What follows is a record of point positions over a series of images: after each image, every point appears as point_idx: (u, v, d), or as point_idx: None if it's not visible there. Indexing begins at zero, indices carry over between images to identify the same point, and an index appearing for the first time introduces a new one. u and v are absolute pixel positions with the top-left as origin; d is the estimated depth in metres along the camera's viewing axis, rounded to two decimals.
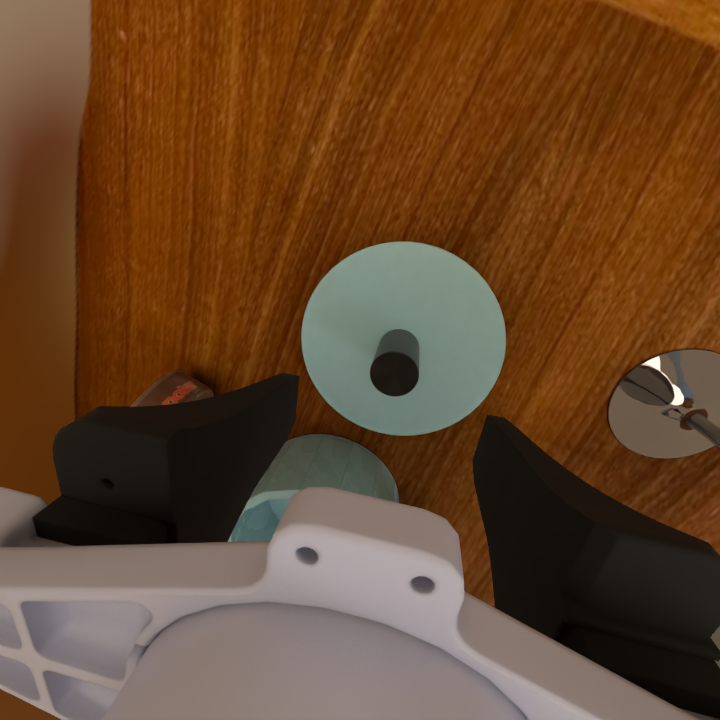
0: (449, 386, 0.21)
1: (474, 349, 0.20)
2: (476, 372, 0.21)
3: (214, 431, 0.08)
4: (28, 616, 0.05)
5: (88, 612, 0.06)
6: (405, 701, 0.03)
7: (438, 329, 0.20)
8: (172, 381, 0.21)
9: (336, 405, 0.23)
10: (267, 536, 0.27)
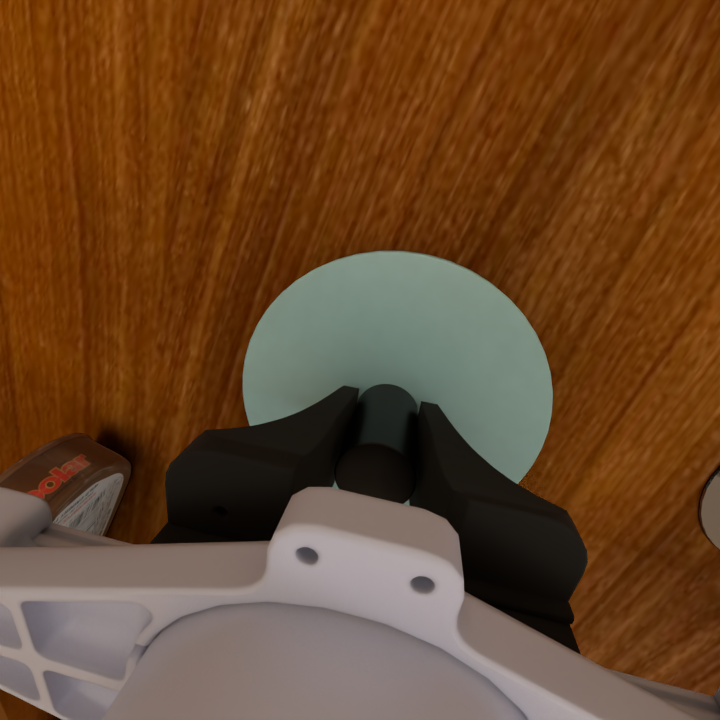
0: None
1: (502, 416, 0.13)
2: (505, 449, 0.14)
3: (315, 454, 0.08)
4: (28, 616, 0.05)
5: (88, 612, 0.06)
6: (405, 701, 0.03)
7: (446, 385, 0.13)
8: (45, 461, 0.14)
9: None
10: None
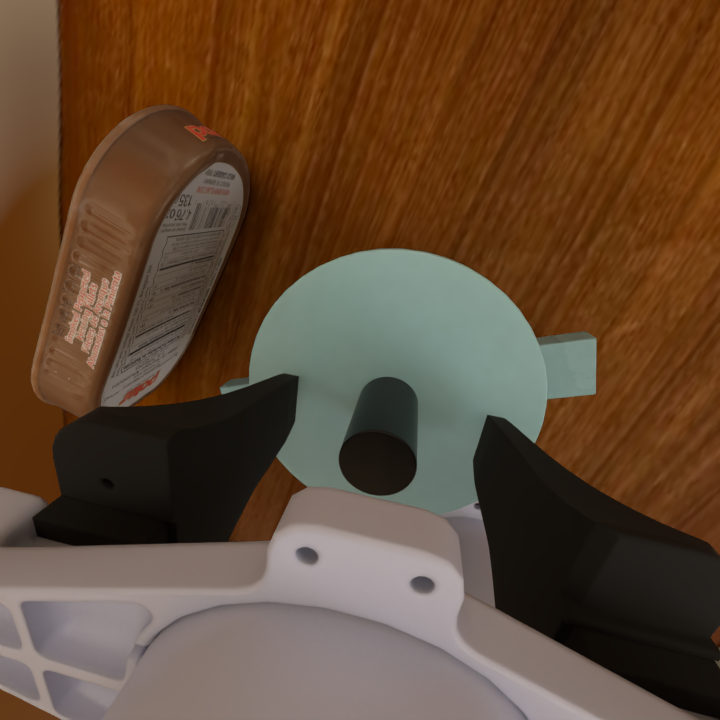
0: (461, 456, 0.15)
1: (499, 407, 0.14)
2: None
3: (214, 431, 0.08)
4: (28, 616, 0.05)
5: (88, 612, 0.06)
6: (405, 701, 0.03)
7: (445, 378, 0.14)
8: (197, 121, 0.14)
9: (302, 476, 0.17)
10: None
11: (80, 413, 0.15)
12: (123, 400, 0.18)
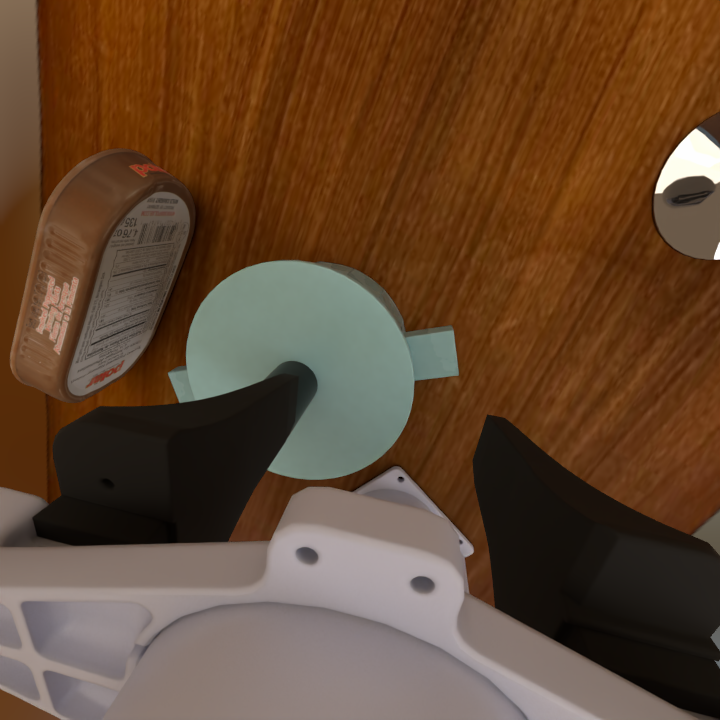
0: (355, 426, 0.18)
1: (379, 385, 0.17)
2: (384, 411, 0.18)
3: (214, 431, 0.08)
4: (28, 616, 0.05)
5: (88, 612, 0.06)
6: (405, 701, 0.03)
7: (336, 361, 0.17)
8: (143, 159, 0.18)
9: None
10: None
11: (50, 391, 0.19)
12: (90, 383, 0.22)
